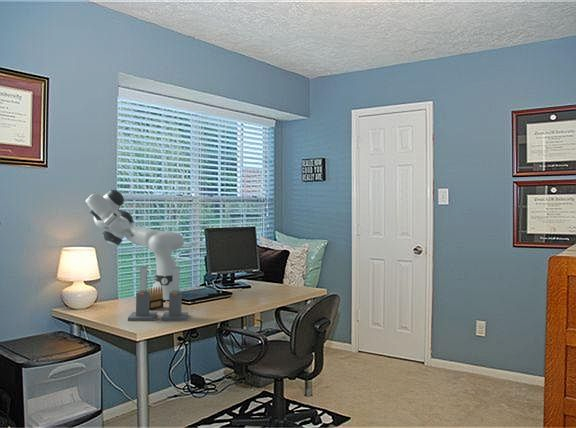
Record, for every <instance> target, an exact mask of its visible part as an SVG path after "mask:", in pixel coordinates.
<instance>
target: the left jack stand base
mask: <svg viewBox="0 0 576 428" xmlns="http://www.w3.org/2000/svg"><path fill="white" fill-rule="evenodd" d="M135 304H136V305H135V311H132V312H131V314H130V315H129V316H128V317H127V321H130V322H131V321H132V322H138V321H139V322H141V321H142V322H144V321H145V322H146V321H147V322H154V320H155V318H156V316H157V315H158V314H157V311H150V310H149V304H150V291H148V290H147V292H146V293H139V290H138V291H137V292H136V294H135Z"/></svg>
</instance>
